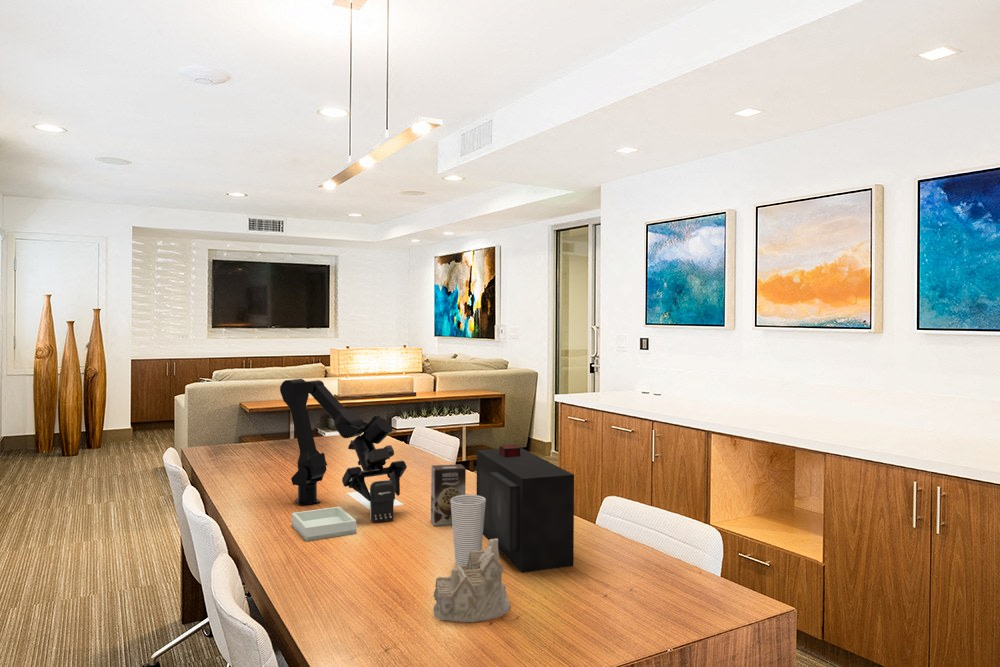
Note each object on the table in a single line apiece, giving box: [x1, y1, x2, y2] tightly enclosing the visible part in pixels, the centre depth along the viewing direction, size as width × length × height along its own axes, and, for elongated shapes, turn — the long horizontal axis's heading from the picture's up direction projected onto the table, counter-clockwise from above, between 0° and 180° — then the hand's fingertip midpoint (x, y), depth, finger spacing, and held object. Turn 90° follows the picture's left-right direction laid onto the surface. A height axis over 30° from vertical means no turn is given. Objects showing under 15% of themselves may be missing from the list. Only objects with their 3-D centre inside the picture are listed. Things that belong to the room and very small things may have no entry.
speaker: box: [476, 444, 575, 574], centre depth 175 cm, size 15×35×24 cm, turn 20°
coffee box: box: [430, 463, 467, 527], centre depth 195 cm, size 9×6×16 cm
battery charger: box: [369, 479, 396, 523], centre depth 196 cm, size 7×4×11 cm, turn 116°
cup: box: [450, 494, 486, 569], centre depth 163 cm, size 8×8×16 cm
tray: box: [291, 506, 357, 542], centre depth 188 cm, size 16×14×4 cm
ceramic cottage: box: [432, 539, 511, 623], centre depth 139 cm, size 16×16×15 cm
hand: (384, 497), depth 195 cm, fingers open, 9 cm apart
